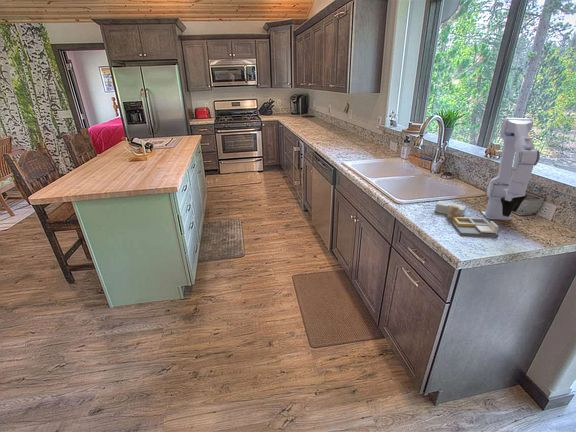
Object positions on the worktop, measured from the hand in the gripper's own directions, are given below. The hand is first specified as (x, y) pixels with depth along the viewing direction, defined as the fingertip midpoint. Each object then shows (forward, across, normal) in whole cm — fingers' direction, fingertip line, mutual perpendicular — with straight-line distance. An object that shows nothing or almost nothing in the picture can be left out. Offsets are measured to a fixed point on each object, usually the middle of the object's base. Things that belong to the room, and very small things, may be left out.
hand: (509, 213), depth 122 cm
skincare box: (+7, -4, -31) cm, 32 cm away
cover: (+8, +5, -5) cm, 10 cm away
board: (+9, +4, -10) cm, 15 cm away
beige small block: (+9, 0, -21) cm, 23 cm away
